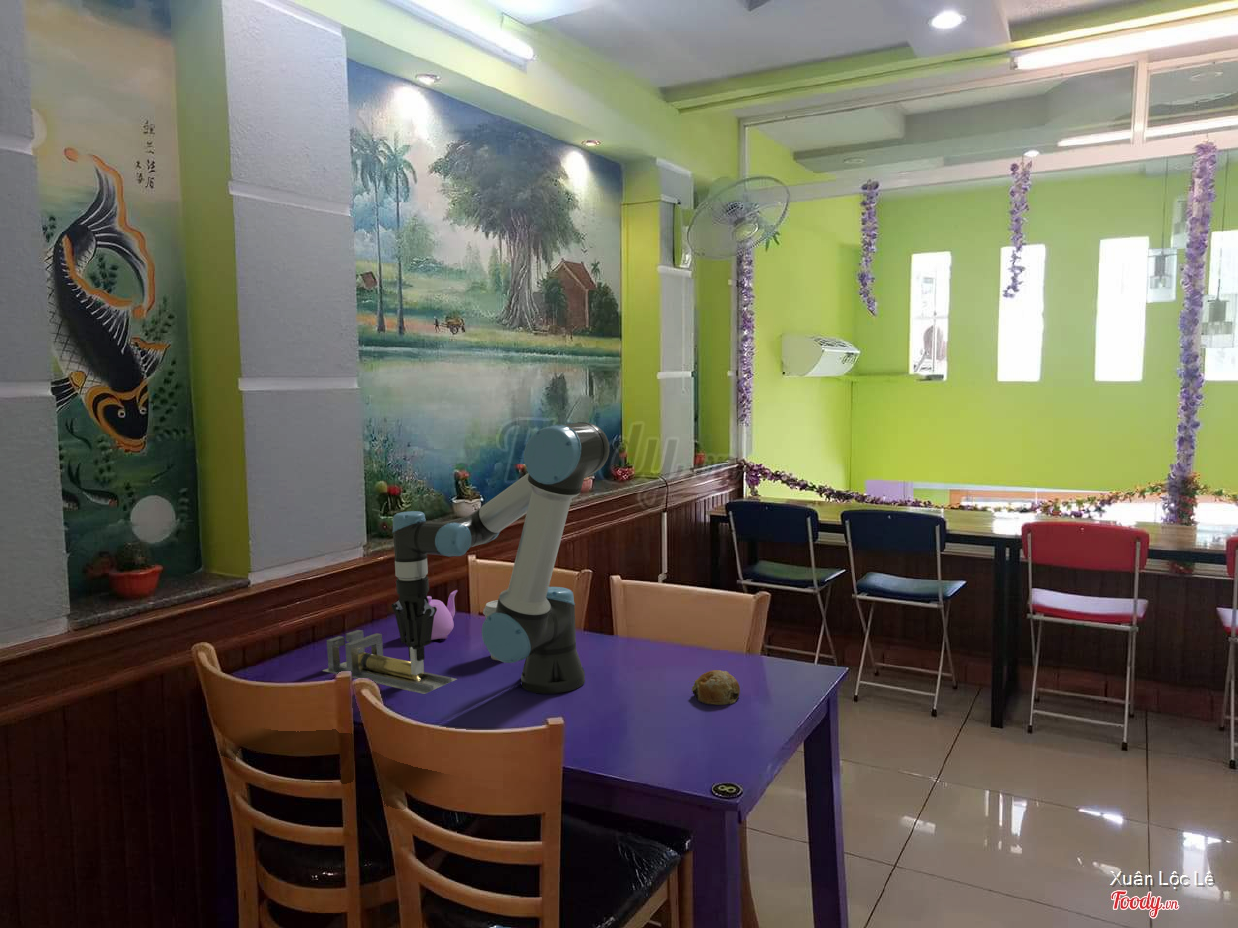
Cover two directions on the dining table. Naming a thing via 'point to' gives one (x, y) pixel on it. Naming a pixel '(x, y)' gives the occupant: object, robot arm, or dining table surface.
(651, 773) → the dining table surface
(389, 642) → the dining table surface
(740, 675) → the dining table surface
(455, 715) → the dining table surface
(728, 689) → the bread roll
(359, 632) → the collar base
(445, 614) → the teapot
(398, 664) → the tube
